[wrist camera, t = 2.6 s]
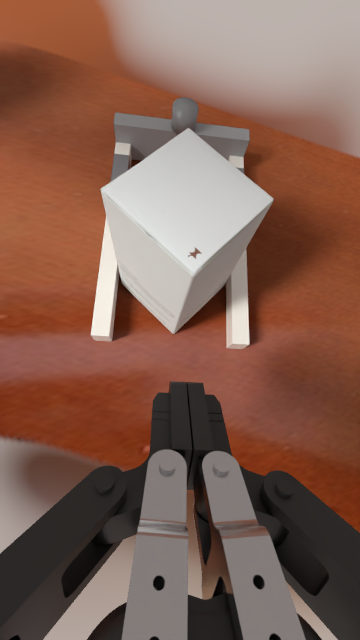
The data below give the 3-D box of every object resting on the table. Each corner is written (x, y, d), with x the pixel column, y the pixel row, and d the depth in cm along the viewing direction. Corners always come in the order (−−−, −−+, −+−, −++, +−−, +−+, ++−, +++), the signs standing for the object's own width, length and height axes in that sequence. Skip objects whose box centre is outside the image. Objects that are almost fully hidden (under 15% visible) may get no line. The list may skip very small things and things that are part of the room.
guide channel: (94, 340, 26) (79, 321, 20) (119, 144, 32) (113, 87, 27) (242, 349, 27) (267, 333, 21) (237, 157, 34) (255, 106, 28)
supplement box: (225, 286, 29) (281, 200, 17) (172, 336, 27) (192, 280, 15) (173, 237, 30) (190, 122, 18) (118, 282, 28) (95, 187, 16)
